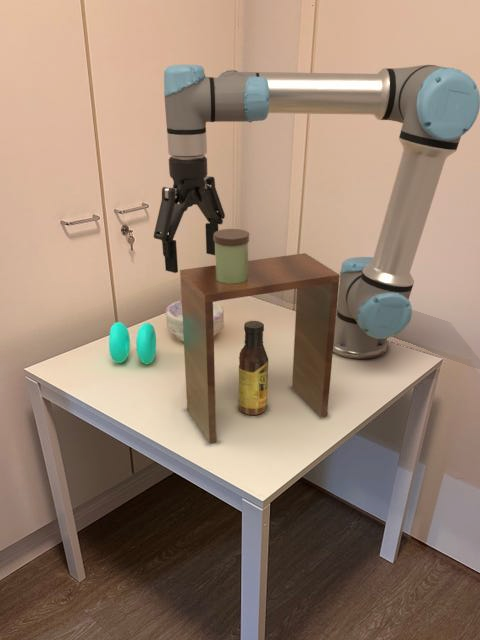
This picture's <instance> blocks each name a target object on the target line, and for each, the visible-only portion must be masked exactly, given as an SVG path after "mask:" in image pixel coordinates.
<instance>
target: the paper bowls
mask: <svg viewBox="0 0 480 640" xmlns="http://www.w3.org/2000/svg"><path fill="white" fill-rule="evenodd" d="M224 312H225V311H224V307H223V306H222V305H221V304H220V303H218V302H217V301H215V302H213V324H214V337H215V336H216V335H217V334H218V333H219V332H221V331H222V330H223V328H224V327H225V326H224V323H225V322H224V321H225V316H224V315H225V314H224ZM165 322H166V323H165V324H166V329H167V331H168V332H169V333H170V334H172V335H174V336H176V338H177V339H178V340H179V341H181V342H182V343H184V335H183V316H182V299H180V300H178V301H177V300H176V301H174V302H172V303H170V304H168V306H167V307H166V310H165Z"/></svg>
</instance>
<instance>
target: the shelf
mask: <svg viewBox="0 0 480 640" xmlns="http://www.w3.org/2000/svg"><path fill="white" fill-rule="evenodd" d="M179 277H180V278H179V279H180V295H181V297H180V298H181V300H182V316H183V335H184V342H183V352H184V353H183V354H184V372H185V390H186V405H187V406H186V409H187V413H188V414H189V415H190V416H191V418H192V420H193V421H194V422H195V424H196V425H197V427H198V429H199V430H200V432H201V433H202V435H203V436H204V437H205V439H206V441H207V442H208V444H214V443H217V417H216V416H217V414H216V376H215V375H216V370H215V336H214V324H213V302H221V301H226V300H228V301H229V300H233V299H239V298H247V297H253V296H259V295H266V294H271V293H272V294H273V293H279V292H285V291H291V290H296V301H295V302H296V303H295V304H296V305H295V323H294V341H293V359H292V378H291V379H292V380H291V389H292V390H293V391H294V392H295V393H296V394H297V395H298V396H299V397H300V398H301V399H302V400H303V401H304V402H305V404H307V405H308V406H309V407H310V408H311V409H312V410H313V411H314V412H315V414H316V415H318V416H319V417H320V418H326V417H328V411H329V400H330V398H329V397H330V388H331V377H332V367H333V366H332V365H333V354H334V352H333V344H334V333H335V322H336V317H337V308H338V296H339V285H340V273H339V272H336V271H334V270H333V269H331V268H330V267H329V266H327V265H325V264H323V263H322V262H320V261H319V260H318V259H315V258H314V257H312V256H310V255H309V254H308V253H305V252H304V253H296V254H287V255H282V256H274V257H267V258H259V259H252V260H248V279H247V280H246V281H245V282H242V283H237V284H227V283H222V282H219V281H217V280H216V270H215V264H214V265H207V266H200V267H199V266H198V267H192V268H185V269H180V270H179Z"/></svg>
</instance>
